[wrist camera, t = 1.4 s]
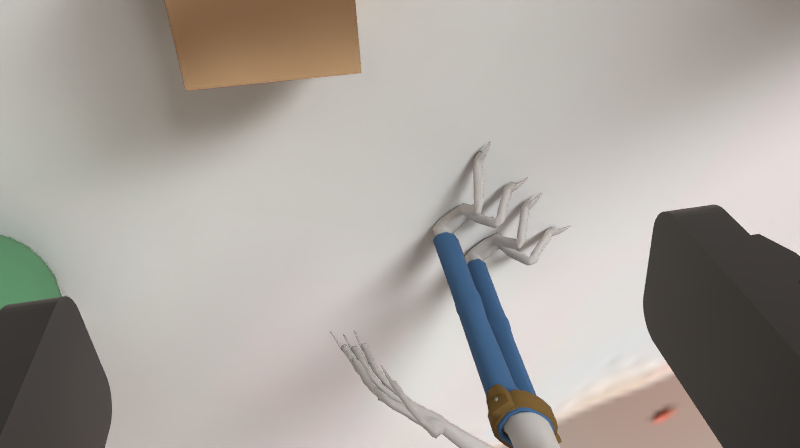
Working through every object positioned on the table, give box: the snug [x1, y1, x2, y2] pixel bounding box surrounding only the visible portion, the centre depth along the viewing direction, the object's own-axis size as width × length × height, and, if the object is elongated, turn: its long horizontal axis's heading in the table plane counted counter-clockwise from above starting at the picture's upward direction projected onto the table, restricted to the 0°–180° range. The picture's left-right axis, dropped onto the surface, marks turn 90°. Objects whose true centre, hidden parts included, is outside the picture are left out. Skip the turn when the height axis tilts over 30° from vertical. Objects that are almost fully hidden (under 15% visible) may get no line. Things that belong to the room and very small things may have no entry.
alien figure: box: [330, 142, 571, 448], centre depth 25 cm, size 20×5×19 cm, turn 42°
